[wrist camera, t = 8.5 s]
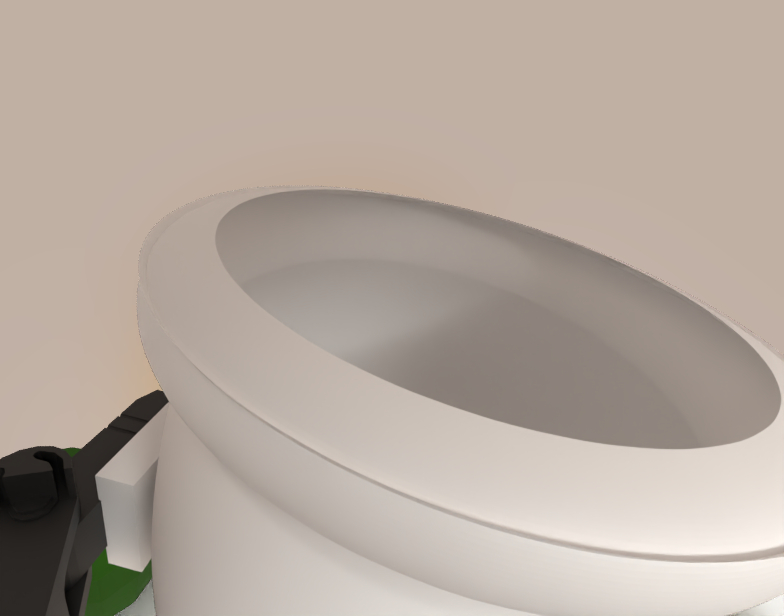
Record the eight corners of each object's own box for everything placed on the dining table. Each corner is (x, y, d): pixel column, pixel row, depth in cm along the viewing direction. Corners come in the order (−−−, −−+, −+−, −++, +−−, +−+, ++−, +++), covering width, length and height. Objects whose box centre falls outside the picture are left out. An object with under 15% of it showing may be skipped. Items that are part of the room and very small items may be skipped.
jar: (268, 496, 19) (307, 162, 12) (486, 563, 18) (650, 249, 12) (62, 881, 9) (-255, 294, 3) (508, 1049, 9) (1493, 821, 2)
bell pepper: (68, 506, 27) (45, 390, 23) (196, 514, 29) (198, 406, 24) (-38, 658, 20) (-101, 529, 16) (142, 659, 21) (130, 540, 17)
